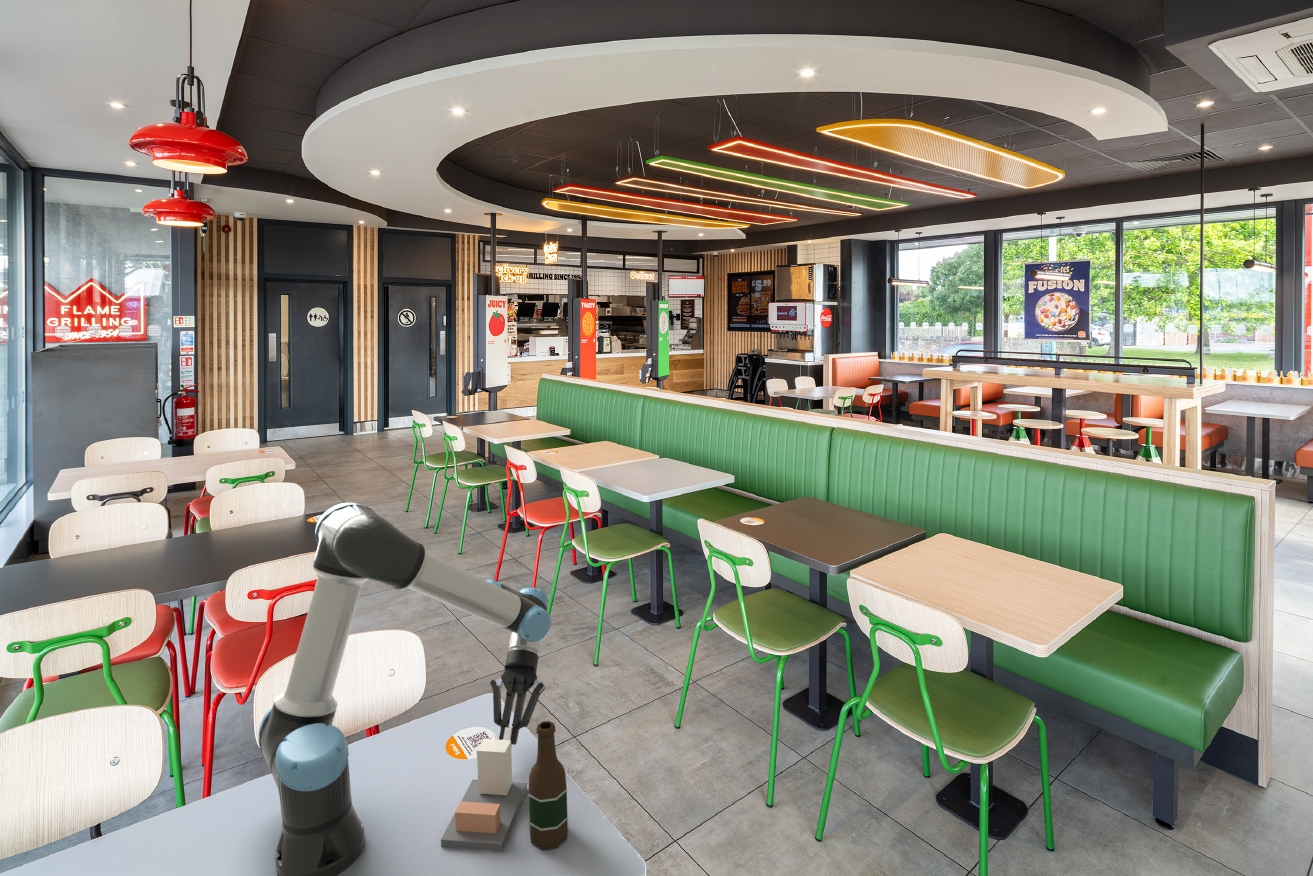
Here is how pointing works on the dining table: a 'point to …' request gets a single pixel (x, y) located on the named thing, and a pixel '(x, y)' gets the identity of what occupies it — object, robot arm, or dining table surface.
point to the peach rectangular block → (477, 817)
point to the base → (508, 815)
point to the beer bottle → (547, 793)
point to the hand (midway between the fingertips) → (504, 760)
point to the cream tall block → (494, 766)
